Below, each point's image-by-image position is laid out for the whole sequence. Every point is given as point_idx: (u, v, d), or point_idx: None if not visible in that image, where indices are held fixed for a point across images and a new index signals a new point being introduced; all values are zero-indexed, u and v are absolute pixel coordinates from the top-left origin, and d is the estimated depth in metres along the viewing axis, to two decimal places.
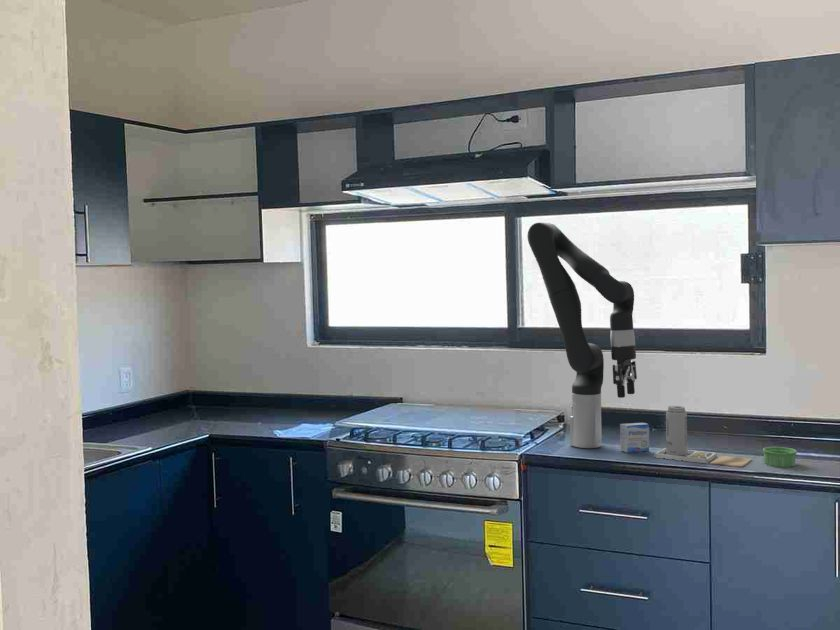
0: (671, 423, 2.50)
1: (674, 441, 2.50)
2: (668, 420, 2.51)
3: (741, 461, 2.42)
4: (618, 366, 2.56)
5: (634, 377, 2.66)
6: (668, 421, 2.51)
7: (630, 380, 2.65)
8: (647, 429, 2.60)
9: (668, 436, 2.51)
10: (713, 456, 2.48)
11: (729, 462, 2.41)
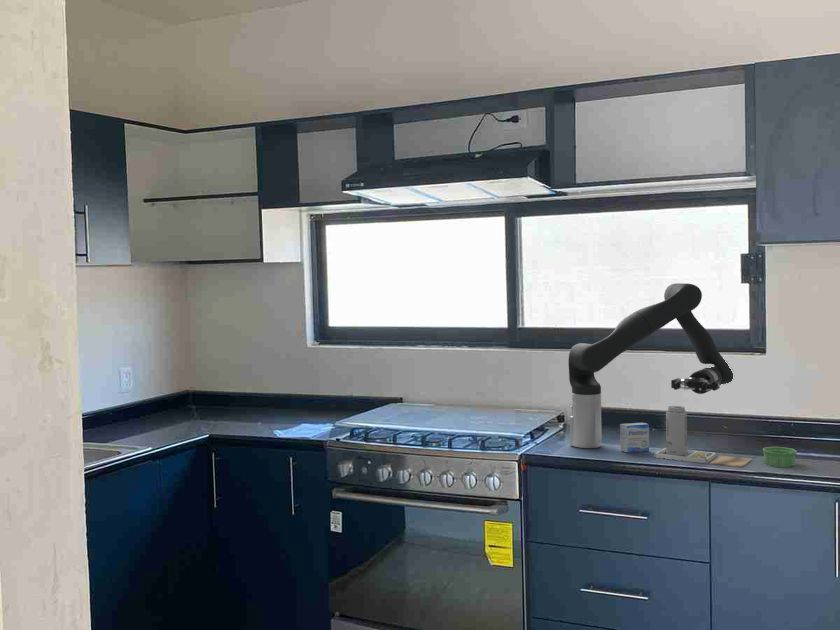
0: (671, 423, 2.50)
1: (674, 441, 2.50)
2: (668, 420, 2.51)
3: (741, 461, 2.42)
4: (719, 386, 2.66)
5: None
6: (668, 421, 2.51)
7: (679, 385, 2.68)
8: (647, 429, 2.60)
9: (668, 436, 2.51)
10: (713, 456, 2.48)
11: (729, 462, 2.41)
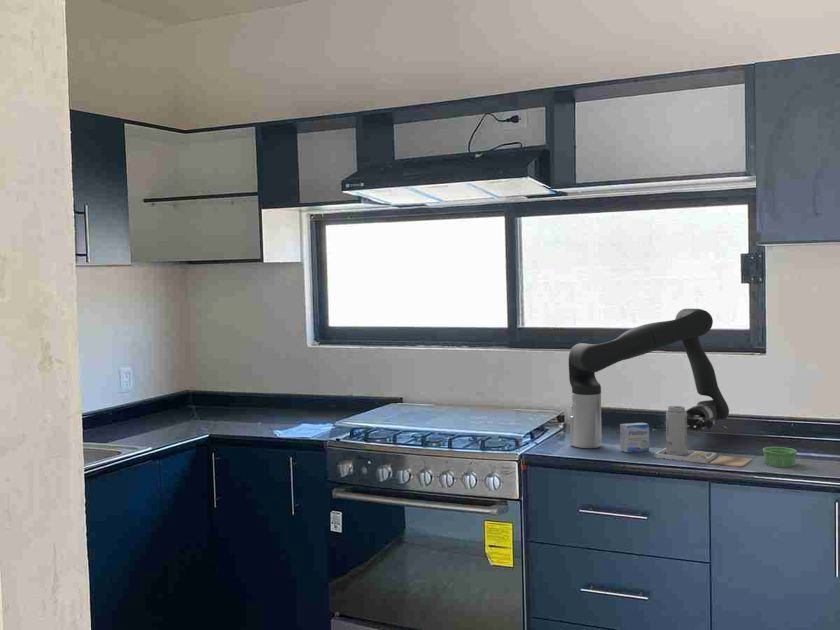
0: (671, 423, 2.50)
1: (674, 441, 2.50)
2: (668, 420, 2.51)
3: (741, 461, 2.42)
4: (714, 424, 2.62)
5: None
6: (668, 421, 2.51)
7: None
8: (647, 429, 2.60)
9: (668, 436, 2.51)
10: (713, 456, 2.48)
11: (729, 462, 2.41)
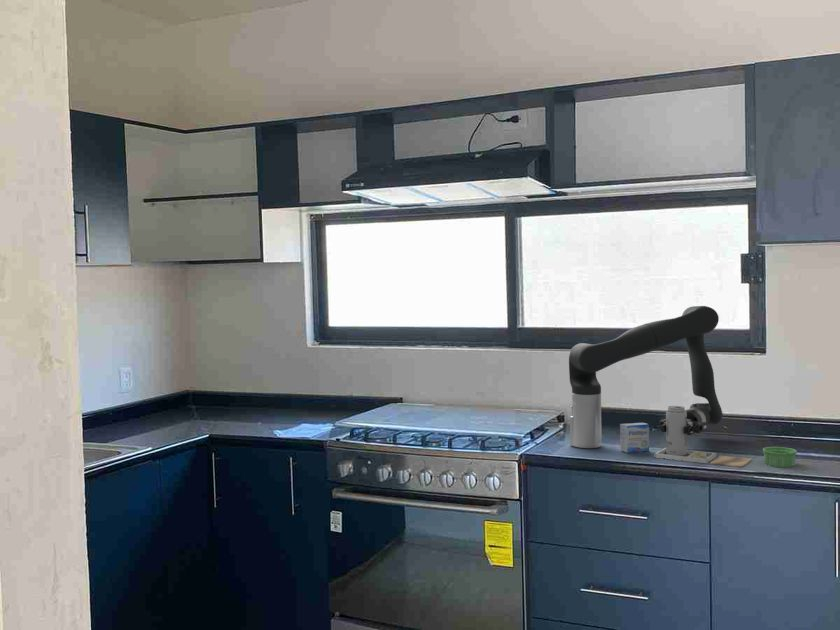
0: (671, 423, 2.50)
1: (674, 441, 2.50)
2: (668, 420, 2.51)
3: (741, 461, 2.42)
4: None
5: None
6: (668, 420, 2.51)
7: None
8: (647, 429, 2.60)
9: (668, 436, 2.51)
10: (713, 456, 2.48)
11: (729, 462, 2.41)
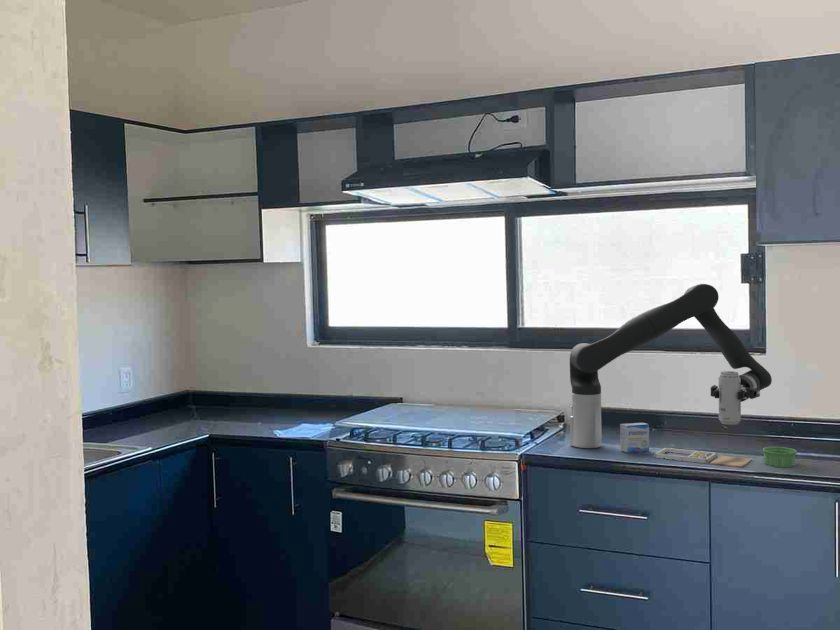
0: (724, 389, 2.41)
1: (727, 407, 2.41)
2: (721, 386, 2.42)
3: (741, 461, 2.42)
4: (759, 394, 2.46)
5: None
6: (721, 386, 2.42)
7: None
8: (647, 429, 2.60)
9: (721, 402, 2.42)
10: (713, 456, 2.48)
11: (729, 462, 2.41)
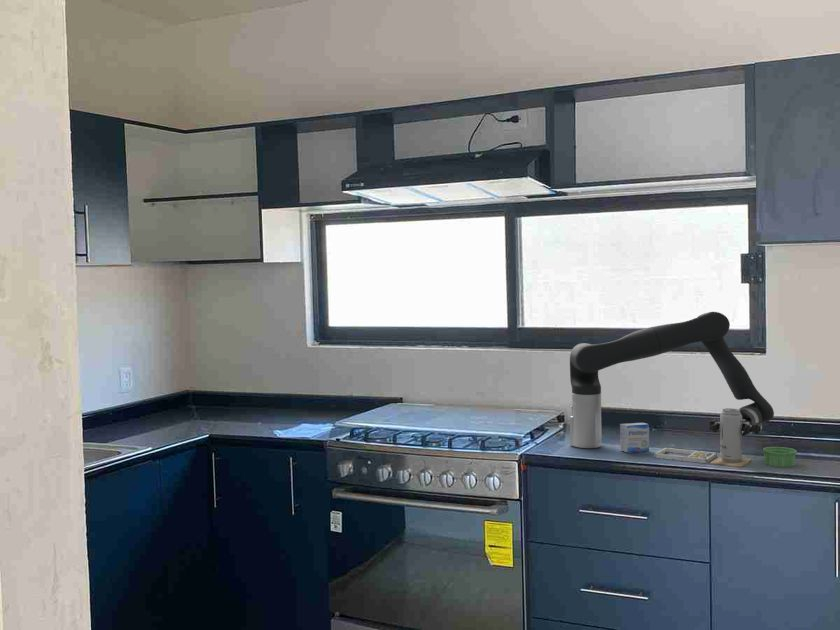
0: (726, 427, 2.41)
1: (729, 445, 2.41)
2: (723, 423, 2.42)
3: (741, 461, 2.42)
4: (761, 429, 2.46)
5: None
6: (722, 424, 2.42)
7: (718, 426, 2.48)
8: (647, 429, 2.60)
9: (722, 440, 2.42)
10: (713, 456, 2.48)
11: (729, 462, 2.41)
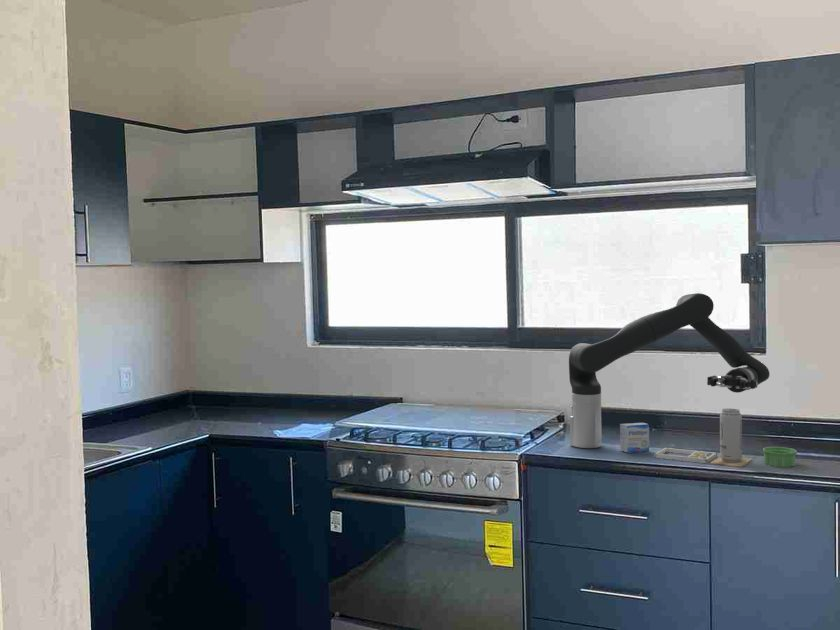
0: (725, 427, 2.41)
1: (728, 445, 2.41)
2: (722, 423, 2.42)
3: (741, 461, 2.42)
4: None
5: None
6: (722, 424, 2.42)
7: (716, 382, 2.61)
8: (647, 429, 2.60)
9: (722, 440, 2.42)
10: (713, 456, 2.48)
11: (729, 462, 2.41)
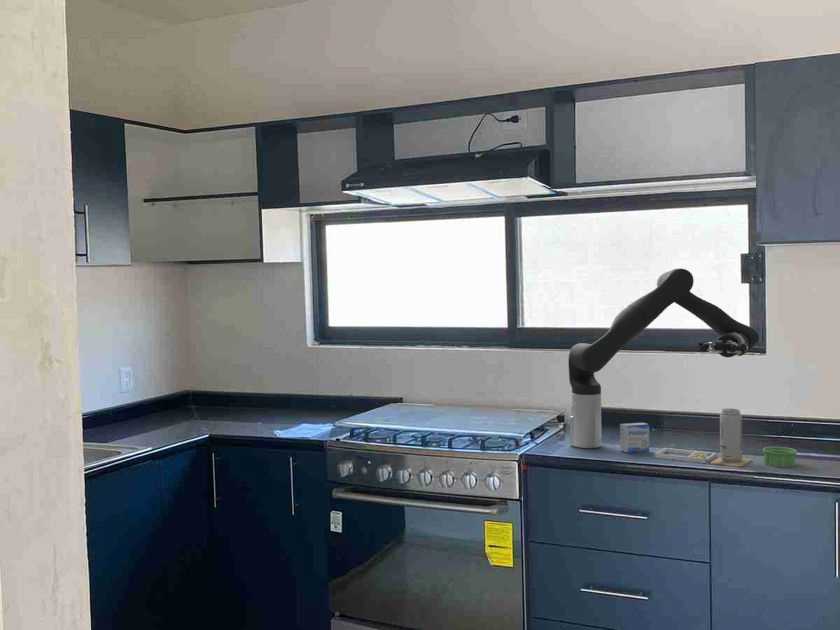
0: (725, 427, 2.41)
1: (728, 445, 2.41)
2: (722, 423, 2.42)
3: (741, 461, 2.42)
4: (747, 349, 2.61)
5: (702, 349, 2.65)
6: (722, 424, 2.42)
7: (707, 347, 2.63)
8: (647, 429, 2.60)
9: (722, 440, 2.42)
10: (713, 456, 2.48)
11: (729, 462, 2.41)
